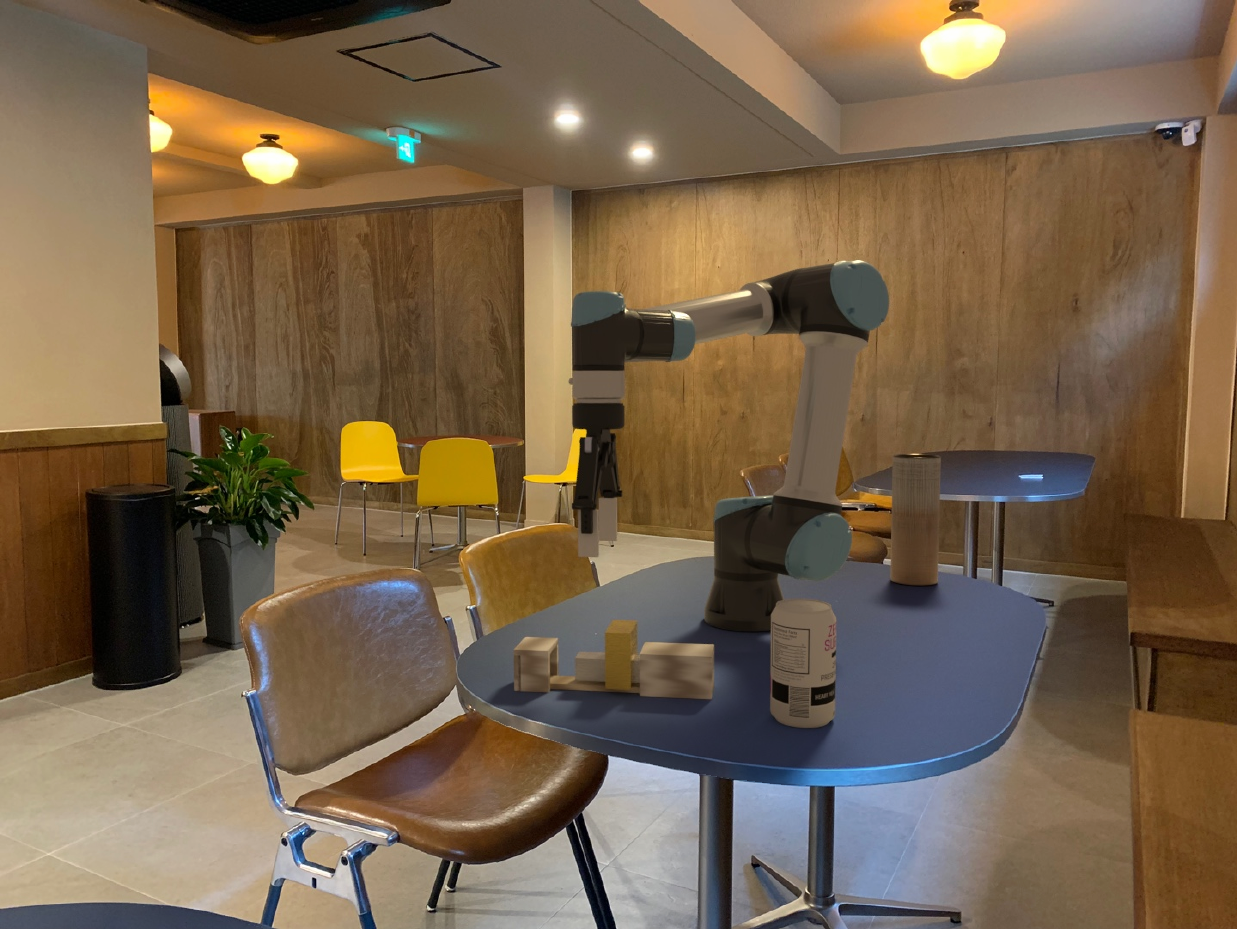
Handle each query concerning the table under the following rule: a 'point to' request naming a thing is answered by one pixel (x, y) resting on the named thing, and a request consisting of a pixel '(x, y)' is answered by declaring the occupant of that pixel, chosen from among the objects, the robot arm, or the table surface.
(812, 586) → the table surface
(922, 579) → the vase
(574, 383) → the robot arm
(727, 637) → the table surface
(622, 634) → the golden wooden block
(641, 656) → the sleeve and socket
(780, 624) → the supplement can
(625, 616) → the table surface
